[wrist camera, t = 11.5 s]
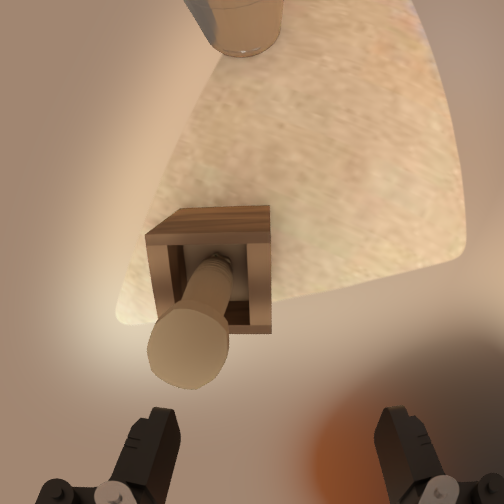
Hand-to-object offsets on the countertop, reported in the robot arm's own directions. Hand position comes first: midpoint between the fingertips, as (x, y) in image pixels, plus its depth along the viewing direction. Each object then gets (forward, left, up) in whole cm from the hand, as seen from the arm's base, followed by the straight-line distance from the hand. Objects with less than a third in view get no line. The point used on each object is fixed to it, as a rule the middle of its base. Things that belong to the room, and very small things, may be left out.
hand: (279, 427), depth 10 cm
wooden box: (+2, -6, -29) cm, 30 cm away
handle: (+2, -6, -23) cm, 23 cm away
